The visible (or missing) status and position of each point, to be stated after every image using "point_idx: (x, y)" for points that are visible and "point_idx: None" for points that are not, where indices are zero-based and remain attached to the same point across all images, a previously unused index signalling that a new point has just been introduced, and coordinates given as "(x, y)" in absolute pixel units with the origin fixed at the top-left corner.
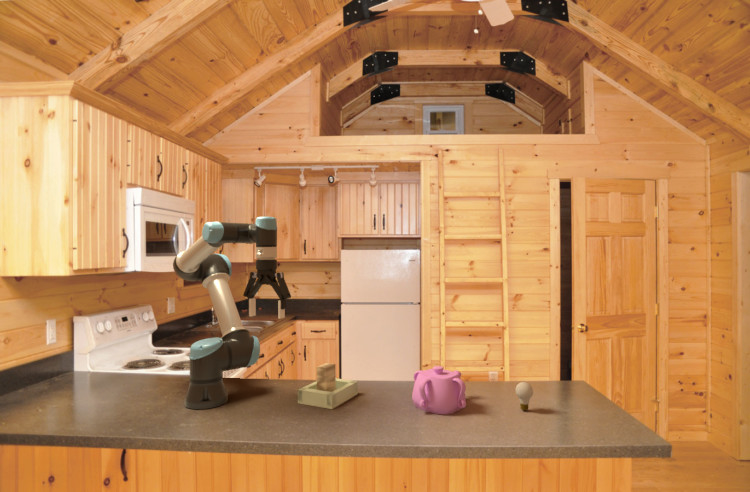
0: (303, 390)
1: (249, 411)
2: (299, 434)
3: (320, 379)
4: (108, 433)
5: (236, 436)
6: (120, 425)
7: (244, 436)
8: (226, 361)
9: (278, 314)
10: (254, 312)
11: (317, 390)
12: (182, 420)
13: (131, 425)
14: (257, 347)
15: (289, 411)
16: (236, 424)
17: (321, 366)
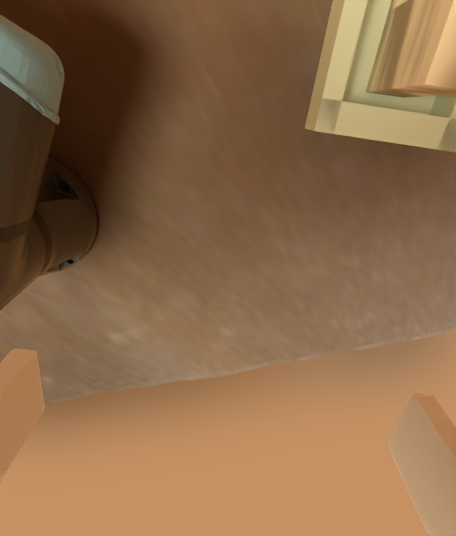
0: (338, 133)
1: (202, 234)
2: (385, 313)
3: (416, 91)
4: None
5: (262, 351)
6: None
7: (278, 348)
8: (23, 240)
9: (407, 485)
10: (17, 394)
11: (391, 116)
12: (96, 322)
13: None
14: (32, 70)
15: (308, 202)
16: (225, 308)
17: (448, 64)
